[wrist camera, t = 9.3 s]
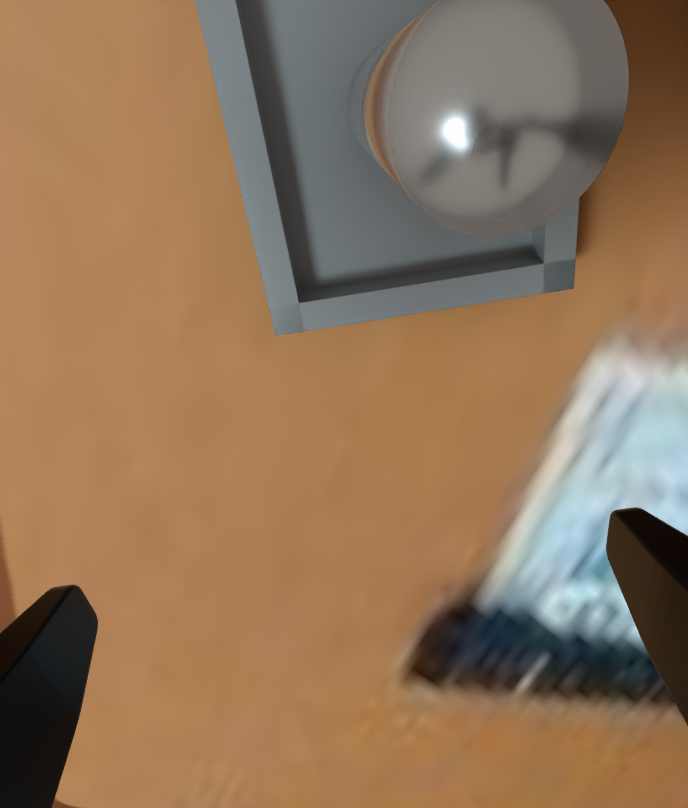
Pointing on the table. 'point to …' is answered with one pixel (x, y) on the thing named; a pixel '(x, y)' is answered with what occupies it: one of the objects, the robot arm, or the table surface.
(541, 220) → the pin
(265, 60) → the tray
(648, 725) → the table surface
